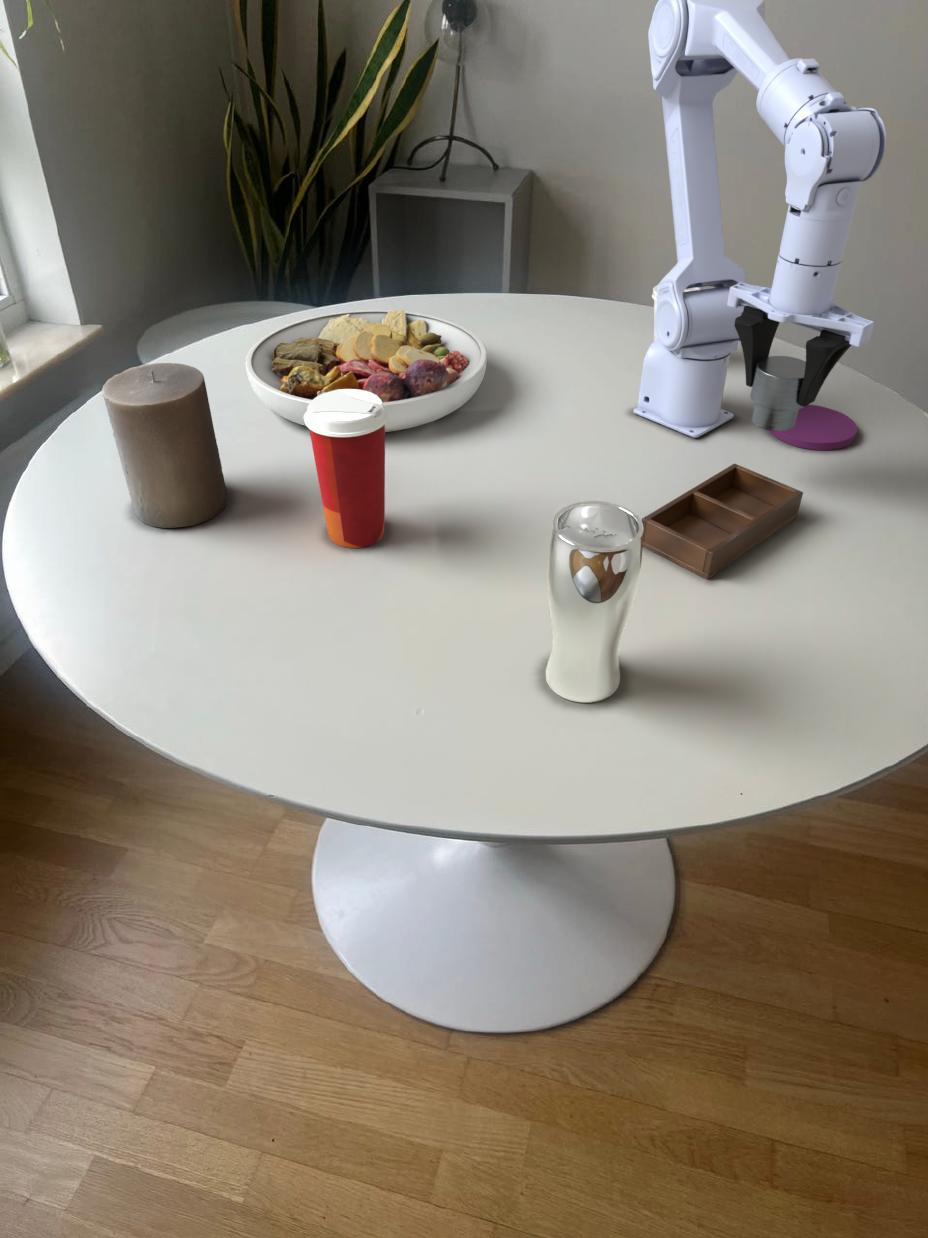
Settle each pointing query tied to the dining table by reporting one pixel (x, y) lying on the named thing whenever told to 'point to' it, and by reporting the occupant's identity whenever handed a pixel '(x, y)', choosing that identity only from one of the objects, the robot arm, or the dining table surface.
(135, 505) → the pillar candle
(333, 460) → the paper cup
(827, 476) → the dining table surface
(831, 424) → the plum lid
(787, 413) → the grey metal cylinder
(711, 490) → the tray
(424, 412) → the bowl
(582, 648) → the beer glass
